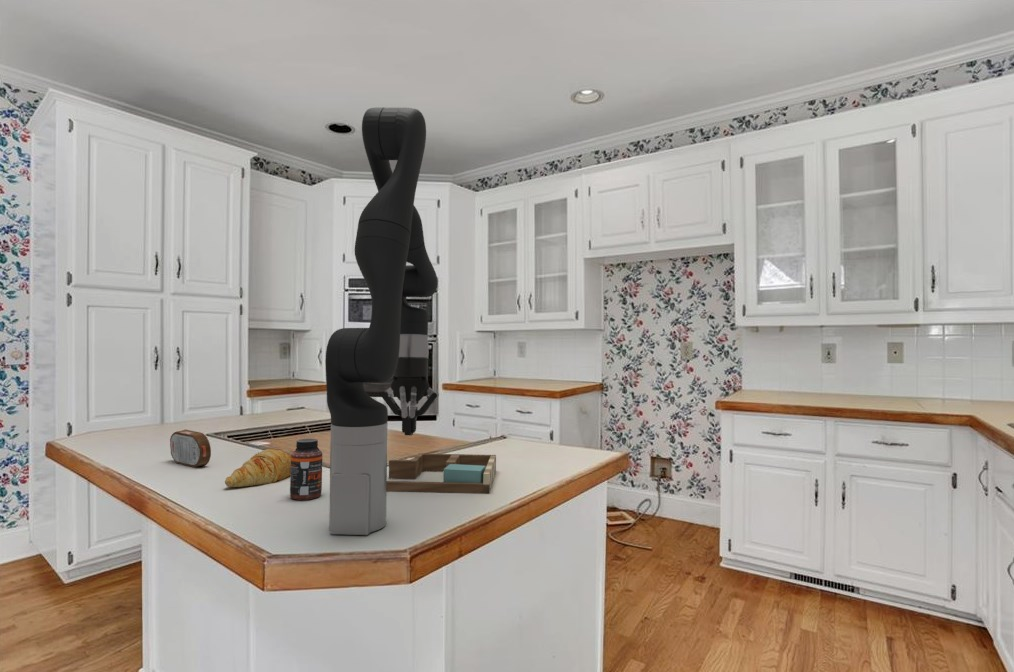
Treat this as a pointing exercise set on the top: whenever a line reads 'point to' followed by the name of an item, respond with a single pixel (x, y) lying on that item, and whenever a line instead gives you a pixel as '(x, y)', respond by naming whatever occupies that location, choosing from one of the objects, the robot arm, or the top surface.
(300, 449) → the supplement bottle
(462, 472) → the block
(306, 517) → the top surface
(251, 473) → the croissant
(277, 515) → the top surface
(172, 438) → the tin
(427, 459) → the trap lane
